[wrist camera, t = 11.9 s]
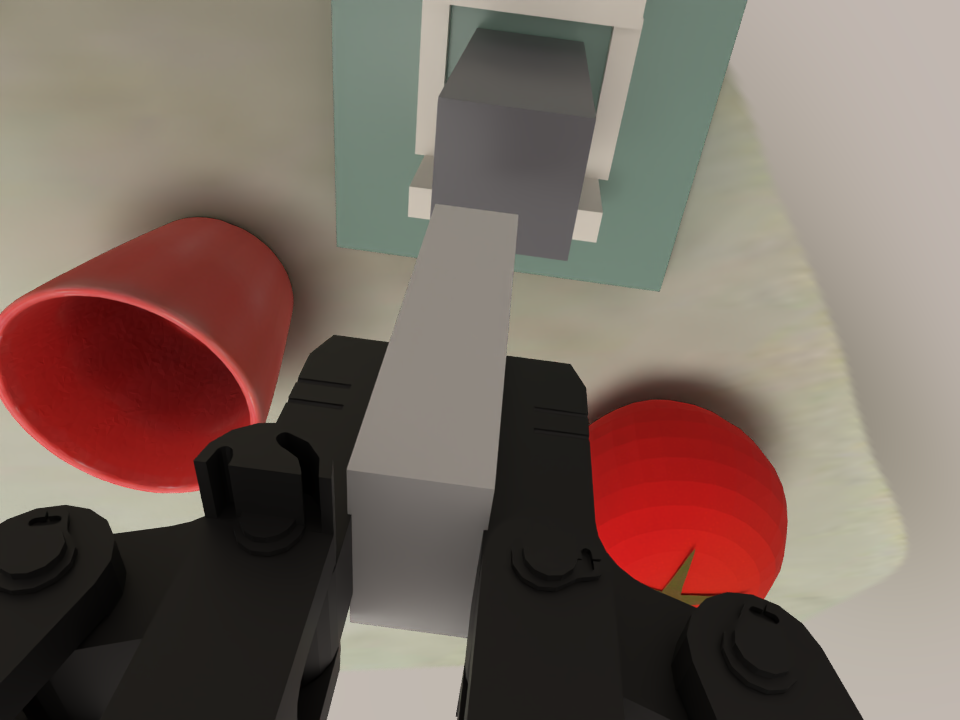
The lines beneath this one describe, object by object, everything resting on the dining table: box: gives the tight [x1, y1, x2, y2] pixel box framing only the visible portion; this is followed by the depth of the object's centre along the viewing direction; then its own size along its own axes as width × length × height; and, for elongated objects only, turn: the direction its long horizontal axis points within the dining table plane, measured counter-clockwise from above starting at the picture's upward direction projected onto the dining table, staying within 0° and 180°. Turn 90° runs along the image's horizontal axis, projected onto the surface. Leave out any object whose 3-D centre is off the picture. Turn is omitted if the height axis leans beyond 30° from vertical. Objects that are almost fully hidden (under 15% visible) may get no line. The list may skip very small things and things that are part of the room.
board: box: [331, 0, 747, 292], centre depth 24 cm, size 20×15×6 cm
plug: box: [430, 28, 596, 261], centre depth 22 cm, size 5×4×10 cm
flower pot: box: [0, 217, 293, 493], centre depth 31 cm, size 11×11×10 cm
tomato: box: [589, 400, 788, 608], centre depth 34 cm, size 12×12×10 cm
